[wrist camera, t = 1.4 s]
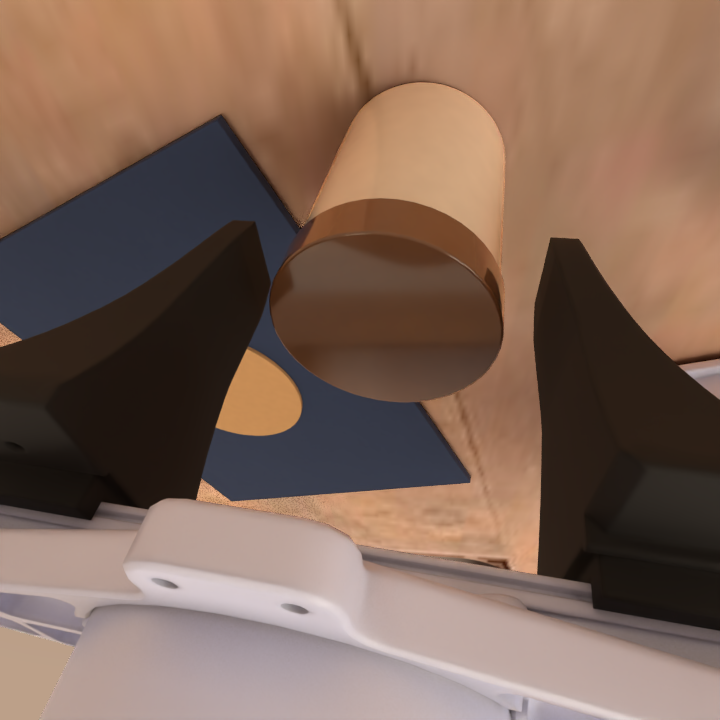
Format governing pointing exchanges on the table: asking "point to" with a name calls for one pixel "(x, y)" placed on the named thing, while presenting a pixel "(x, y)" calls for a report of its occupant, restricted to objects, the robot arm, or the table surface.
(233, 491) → the desk pad
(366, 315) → the jar
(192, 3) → the table surface
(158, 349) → the robot arm
